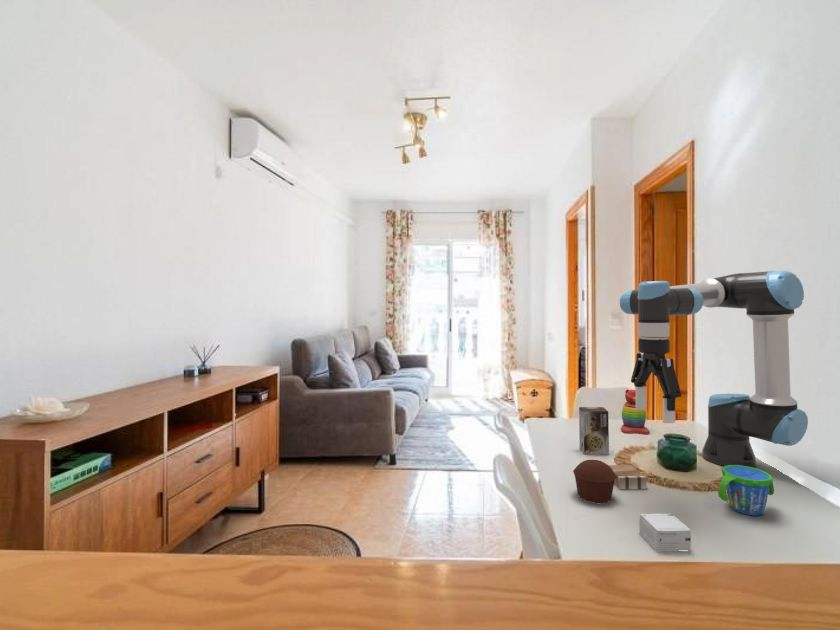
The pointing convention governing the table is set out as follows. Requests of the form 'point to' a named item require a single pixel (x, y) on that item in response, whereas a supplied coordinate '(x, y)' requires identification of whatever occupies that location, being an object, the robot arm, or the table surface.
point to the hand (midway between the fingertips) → (654, 415)
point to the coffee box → (593, 430)
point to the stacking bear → (633, 415)
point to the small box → (664, 532)
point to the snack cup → (745, 488)
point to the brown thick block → (628, 477)
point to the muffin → (594, 481)
